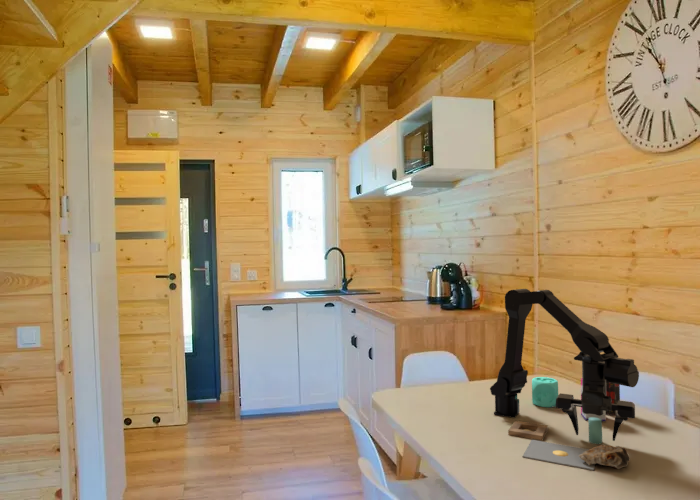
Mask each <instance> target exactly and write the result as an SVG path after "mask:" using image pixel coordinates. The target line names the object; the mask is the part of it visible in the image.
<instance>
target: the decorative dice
mask: <svg viewBox="0 0 700 500" xmlns="http://www.w3.org/2000/svg"><path fill="white" fill-rule="evenodd" d="M558 395H559V381H558V380H557V379H555V378H552V377H547V376H536V377H533V378H532V379H531V397H532V398H531V401H532V404H533V405H535V406H537V407H543V408H556V398H557V396H558Z"/></svg>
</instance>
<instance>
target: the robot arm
mask: <svg viewBox="0 0 700 500" xmlns="http://www.w3.org/2000/svg"><path fill="white" fill-rule="evenodd" d="M533 305H540V307H541V308H543V309H544V310H545V311H546V312H547V313H548V314H549V315H551V317H552V318H554V319H555V321H557V322H558V324H559V325H561V326H562V327H563V328H564V329H565V330H566V331H567V332H568V333H569V335H570V336H571V339H572V342H573V343H574V344H575V346H576V347H577V348H578V350H579V351H580V352H578V354H577V355H576V356H574V357H573V360H574V361H578V362H579V361H580V362H581V371H582V372H581V373H582V374H581V378H582V388H583V392H582V394H581V393H580V399H578V398H574V394H570V393H569V394H568V393H558V396H557V398H556V407H555V408H556V409H559V410H560V409H561V411H562V412H563V413H566V415H568V418H569V420H570V421H571V423H572V427H573V429H574V432H575V435H576V436H579V430H580V429H579V421H578V411H577V407H579V408H581V407H582V412H583V413H585V414H595V415H598V416H601V415H603V411H607V410H608V411H616V414H615V415H614V422H613V430H612V441H613V442H615V440H616V437H617V434H618V432H619V430H620V427H621V424H622V423H623V421H628V420H629V419H635V418H636V405H635V403H634V402H632V401H626V400H625V401H624V400H620V401H619V400H618V404H612V401H611V396H606V380H607V381H608V382H610V383H614V384H619V385H620V386H624V387H628V388H635V387H636V386H637V385H638V383H639V377H640V371H639V369H638V367H637V365H635V360H634V359H633V358H621V357H619V354H618V353H617V352H616V350H615V349H614V348H613V346H612V345H611V344H610V342H609V340H610V339H609V337H608V335H607V334H606V333H604V332H603V331H602V330H600V329H598V328H597V327H595V326H593V325H592V324H589V323H587V322H585V321H583V320H582V319H581V318H580V317H578V315H576V314H575V313H574V311H572V310H571V309H570V308H569V307H568V306H567V305H566V304H565V303H563V302H562V301H561V300H560V299H559V298H557V296H555V294H554V293H553V291H552V290H549V289H541V290H536V291H530V289H528V288H519V289H511V290H508V291H507V292H506V293H505V295H504V309H505V311H506V314H507V316H508V323H507V324H508V325H507V334H506V345H505V355H504V356H505V357H504V362H503V363H502V366H501V367H500V369H499V370H498V375H497V378H496V381H495V382H494V383H493V384H492V385H491V386H490V388H489V390H490V394H491V395H492V396H494V412H493V415H494V416H501V417H508V418H516V417H517V416H518V414H520V399H519V398H518V395H519V394H521V393H522V390H523V388H524V387H525V386H526V384H528V374H529V371H528V369H524V366H523V364H522V359H523V349H524V339H525V330H526V320H527V317H529V314H530V312H531V311H532V309H533Z"/></svg>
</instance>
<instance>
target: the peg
mask: <svg viewBox="0 0 700 500" xmlns="http://www.w3.org/2000/svg"><path fill="white" fill-rule="evenodd" d="M602 423H603V421H602V420H601V419H599V418H594V417H591V418H588V442H589V443H590V444H593V445H603V426H602V425H603V424H602Z"/></svg>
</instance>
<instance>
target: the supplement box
mask: <svg viewBox="0 0 700 500" xmlns="http://www.w3.org/2000/svg"><path fill="white" fill-rule="evenodd" d="M582 392H583V388H582V377H581V378H580V395H581V394H582ZM580 415H581V416H582V417H583V419H584V420H585V421H588V418H591V417H594V418H599V419H601V420H602V422H606V421H607V420H606V419H607V417H606V411H603V415H601V416H598V415H595V414H585V413H583V412H582V407H580Z"/></svg>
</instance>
